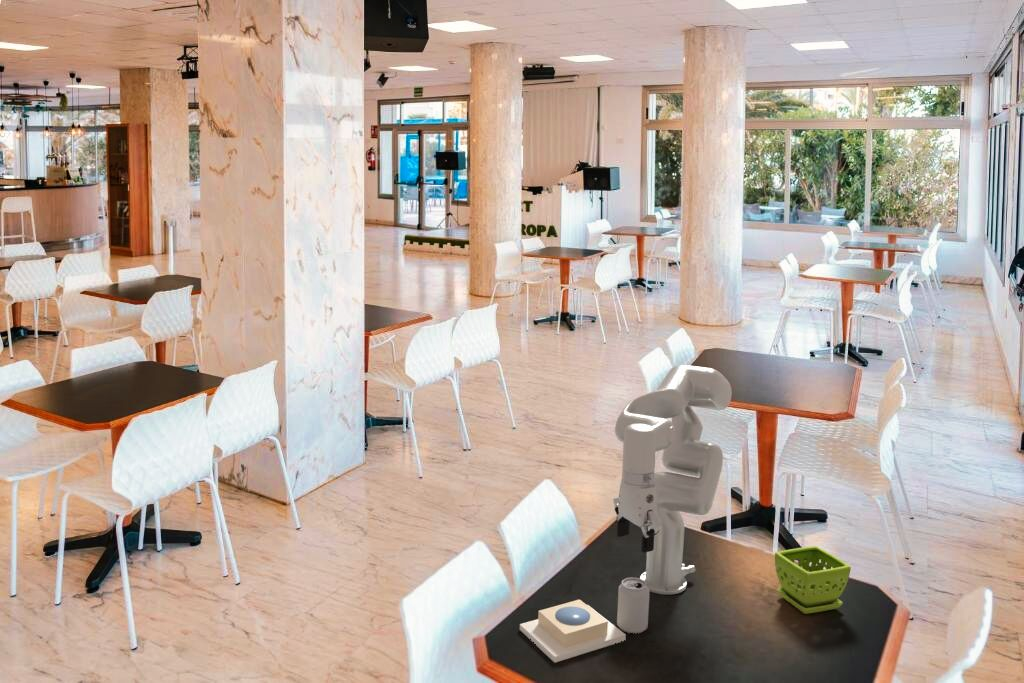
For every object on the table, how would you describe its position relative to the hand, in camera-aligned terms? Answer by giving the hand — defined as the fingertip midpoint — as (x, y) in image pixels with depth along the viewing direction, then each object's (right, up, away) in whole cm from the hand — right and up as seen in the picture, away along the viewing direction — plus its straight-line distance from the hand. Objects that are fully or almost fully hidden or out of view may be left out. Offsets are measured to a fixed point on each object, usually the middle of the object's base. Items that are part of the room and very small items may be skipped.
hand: (634, 543), depth 210 cm
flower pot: (+48, -20, +18) cm, 55 cm away
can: (0, -22, +5) cm, 23 cm away
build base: (-15, -22, +1) cm, 27 cm away
